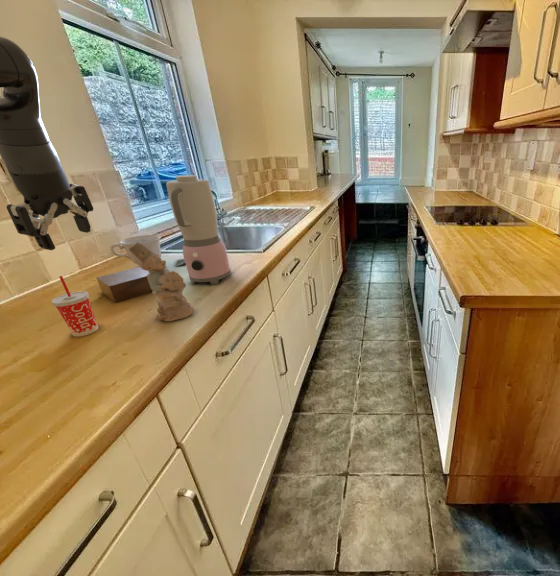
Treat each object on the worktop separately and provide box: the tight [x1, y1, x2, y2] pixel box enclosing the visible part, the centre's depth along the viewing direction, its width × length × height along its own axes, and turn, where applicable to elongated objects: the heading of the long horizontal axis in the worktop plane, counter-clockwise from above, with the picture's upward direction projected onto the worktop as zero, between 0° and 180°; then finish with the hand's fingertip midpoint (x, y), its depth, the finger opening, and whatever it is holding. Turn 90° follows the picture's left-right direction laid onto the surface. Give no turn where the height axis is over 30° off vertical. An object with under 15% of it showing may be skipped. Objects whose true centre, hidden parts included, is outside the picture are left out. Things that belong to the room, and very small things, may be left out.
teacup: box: [109, 234, 162, 268], centre depth 113 cm, size 12×15×10 cm
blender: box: [165, 174, 232, 286], centre depth 97 cm, size 16×12×32 cm
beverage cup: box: [51, 275, 99, 337], centre depth 72 cm, size 6×6×14 cm
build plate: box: [176, 258, 186, 267], centre depth 120 cm, size 12×7×5 cm, turn 117°
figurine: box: [129, 242, 194, 322], centre depth 78 cm, size 9×8×20 cm
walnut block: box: [96, 266, 153, 303], centre depth 95 cm, size 11×11×5 cm
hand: (68, 239), depth 70 cm, fingers open, 8 cm apart
